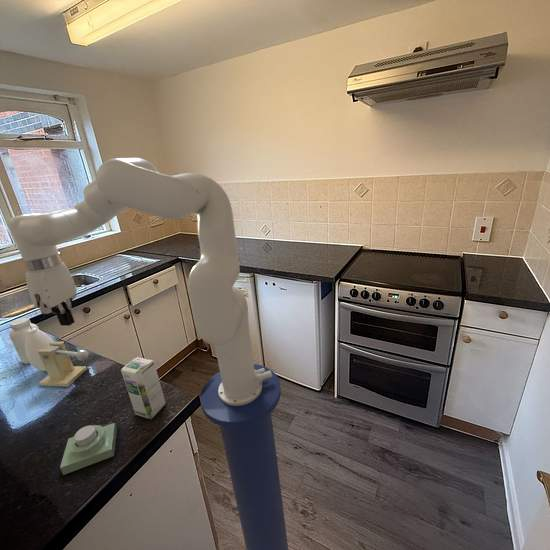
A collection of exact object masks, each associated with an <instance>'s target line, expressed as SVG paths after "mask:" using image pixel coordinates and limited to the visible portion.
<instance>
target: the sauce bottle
mask: <svg viewBox="0 0 550 550" xmlns="http://www.w3.org/2000/svg"><path fill="white" fill-rule="evenodd" d="M31 324H32V323H31ZM31 324H30V323H29V326H30V330H28V331H27V333H28V335H27V337H26V340H25V352H26V356H27V359H28V361H29V362H30V363H29V364H30V365H31V366H32V367H33V368H35V369H36V370H39V371H43V372H47V370H46V368H45V366H44V364H43V361H42V359H41V357H40V355H39V353H38V351H39V350H40V349H47V348H48V347H50V344H49V343H51V342H54V340H53V339H52V337H50V336H49V335H48V334H46V333H45V332H43V331H42V330H40V329H39V330H40V331H39V330H38V329H37V328H32V326H31Z"/></svg>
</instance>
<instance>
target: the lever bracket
mask: <svg viewBox="0 0 550 550" xmlns="http://www.w3.org/2000/svg"><path fill="white" fill-rule="evenodd" d="M49 344H50V346H58V347H59V348H60V350H65V351H68V349H67V346H66V345H65V342H64V341H53V342H51V343H49ZM38 353H39V355H40V357H41V359H42V361H43V364H44V366H45V368H46V370H47V371H46V372H47V375H46V376H45V377H44V378H43V379H41V380H40V381H39V382H38V384H39V386H41V387H63V388H64V387H68V388H69V387H70V386H71V385H73V383H74V382H75V381H76V380H77V379H78V378H80V377H81V375H83V374H84V373H85V372H86V371H87V370H88V368H87V366H82V365H81V366H79V365H78V366H77V365H76V366H75V365H74V363H73V361H72V359H71V356H66V355H57V356H55V353H54V351H53V350H47V349H40V350H39V351H38Z"/></svg>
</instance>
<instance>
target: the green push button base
mask: <svg viewBox="0 0 550 550" xmlns="http://www.w3.org/2000/svg"><path fill="white" fill-rule="evenodd" d="M92 426H94V428H95V430H96V433H97V437H96V439H95V440H94V441H93V442H92V443H90V444H89V445H86V446H84V447H79V446H78V445H77V443H76V441H75V439H74V436H71V437H69V438H68V439H67V442H66V446H65V448H64V452H63V455H62V456H63V457H62V458H61V463H60V466H59V469H60V472H61V474H62V475H63V476H65V475H67V474H70V473H72V472H75V471H78V470H81V469H83V468H86V467H88V466H92V465H95V464H97V463H99V462H101V461H105V460H107V459H110V458H112V457H114V456H115V452H116V443H117V435H118V434H117V433H118V427H117V425H116V423H115V422H112V423H110V424H107V425H104V426H102V425H97V424H94V425H92Z"/></svg>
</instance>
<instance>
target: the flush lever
mask: <svg viewBox="0 0 550 550" xmlns="http://www.w3.org/2000/svg"><path fill="white" fill-rule="evenodd" d="M47 350H53V351H54V353H55V356H57V355H66V356H70V357H73V358H76V360H78V361H80V362H83V361H86V360H87V359H88V358H89V355H90V354H89V351H87V350H85V349H81V350H79V351H70V350H67V351H65V350H60V348H59V347H58V346H50V347H48V348H47Z"/></svg>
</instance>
